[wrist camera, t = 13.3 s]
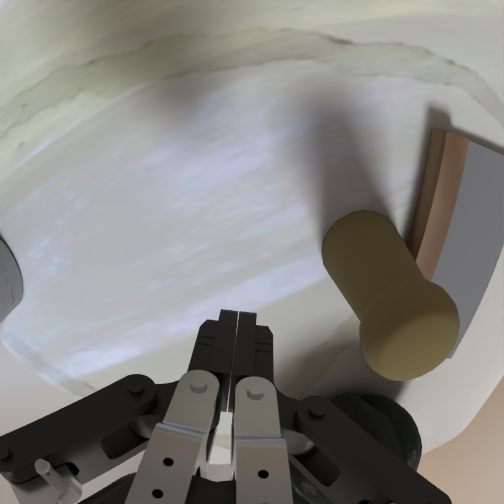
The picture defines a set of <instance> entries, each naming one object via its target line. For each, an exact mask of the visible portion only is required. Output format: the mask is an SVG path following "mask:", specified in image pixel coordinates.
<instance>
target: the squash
mask: <svg viewBox="0 0 504 504" xmlns="http://www.w3.org/2000/svg"><path fill="white" fill-rule="evenodd" d="M332 403H333V404H334V405H335V406H337V407H338V408H339V409H340V410H341V411H342V412H344V413H345V414H346V415H347V416H348V417H349V418H351V419H352V420H353V421H354V422H355V423H356V424H358V425H359V426H360V427H361V428H362V429H364V430H365V431H366V432H367V433H368V434H370V435H371V436H372V437H373V438H374V439H376V440H377V441H378V442H379V443H381V444H382V445H383V446H384V447H385V448H387V449H388V450H389V451H390V452H392V453H393V454H394V455H395V456H397V457H398V458H399V459H401V460H402V461H403V462H404V463H406V464H407V465H408V466H409V467H411V468H412V469H413V470H415V471H417V468H418V465H419V461H420V457H421V453H422V443H421V437H420V434H419V431H418V428H417V426H416V424H415V422H414V420H413V418H412V417H411V415H410V414H409V413H408V412H407V411H406V410H405V409H404V408H403V407H401V406H400V405H399V404H398V403H396V402H395V401H393V400H391V399H389V398H387V397H384V396H382V395H369V396H365V397H363V398H360V397H358V396H356V395H353V394H344V395H341V396H339V397H338V398H336V399H335V400H334V401H333V402H332ZM288 462H289V471H290V479H291V488H292V491H293V492H295V493H298V494H299V495H301V496H302V497H304V498H305V499H306V500H308V501H309V502H310V503H311V504H334V503H333V502H332V501H330V500H329V499H328V498H327V497H326V496H325V495H324V494H323V493H322V492H321V491H320V490H319V489H318V488H317V487H316V486H314V485H313V484H312V483H311V482H310V481H309V480H308V479H307V478H306V477H305V476H304V475H303V474H302V473H301V472H300V471H299V470H298V469H297V468H296V467H295V466H294V465H293V464H292V463H291V462H290V461H289V460H288Z"/></svg>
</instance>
